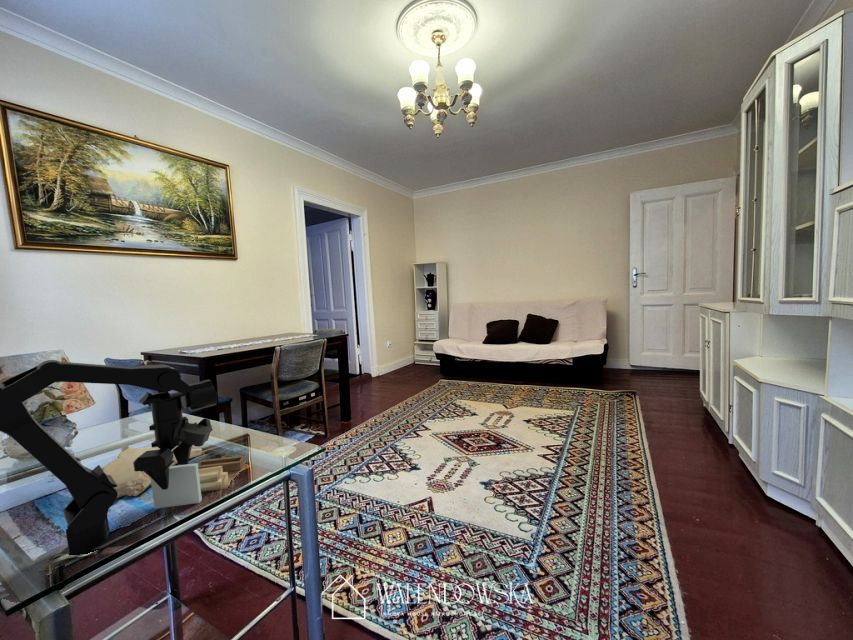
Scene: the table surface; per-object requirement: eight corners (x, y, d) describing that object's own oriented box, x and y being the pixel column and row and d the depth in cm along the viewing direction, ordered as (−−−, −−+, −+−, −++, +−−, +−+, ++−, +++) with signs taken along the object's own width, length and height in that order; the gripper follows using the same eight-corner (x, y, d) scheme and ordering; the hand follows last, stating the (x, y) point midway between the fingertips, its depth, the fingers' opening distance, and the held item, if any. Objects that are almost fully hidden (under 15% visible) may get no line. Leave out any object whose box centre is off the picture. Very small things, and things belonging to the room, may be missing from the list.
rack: (230, 491, 93) (228, 479, 92) (179, 498, 91) (177, 485, 90) (247, 465, 106) (246, 453, 106) (203, 470, 104) (202, 458, 104)
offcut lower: (221, 488, 93) (220, 481, 92) (187, 492, 91) (187, 485, 91) (228, 478, 97) (227, 471, 97) (196, 482, 96) (195, 475, 96)
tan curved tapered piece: (69, 505, 92) (139, 499, 90) (64, 477, 91) (134, 470, 89) (150, 461, 116) (207, 455, 114) (146, 439, 115) (203, 433, 113)
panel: (199, 504, 87) (195, 465, 86) (154, 510, 85) (149, 470, 84) (201, 501, 88) (197, 463, 87) (157, 507, 86) (152, 468, 85)
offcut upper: (217, 481, 93) (216, 473, 92) (188, 485, 91) (187, 478, 91) (222, 472, 97) (222, 465, 97) (194, 476, 95) (194, 469, 95)
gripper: (185, 429, 76) (193, 496, 78) (220, 401, 95) (225, 456, 96) (127, 434, 75) (136, 504, 76) (174, 405, 93) (181, 461, 95)
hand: (175, 478), depth 86 cm, fingers open, 8 cm apart
